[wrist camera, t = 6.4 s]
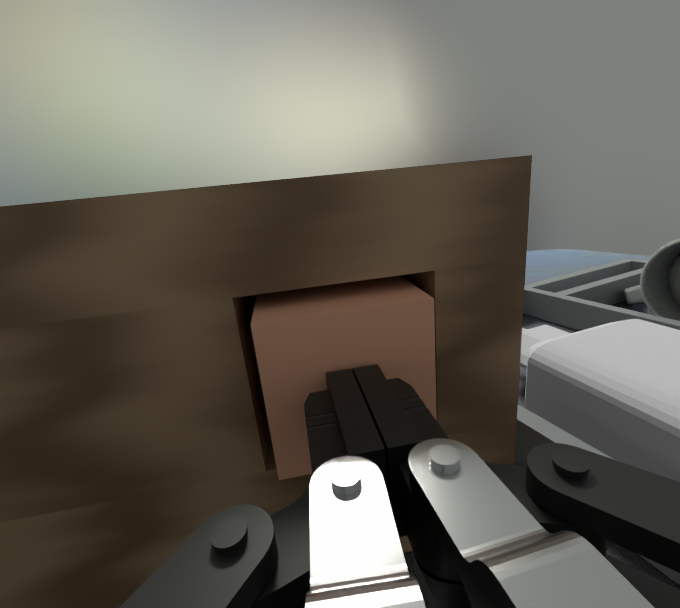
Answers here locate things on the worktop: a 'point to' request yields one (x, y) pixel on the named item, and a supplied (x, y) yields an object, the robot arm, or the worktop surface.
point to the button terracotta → (337, 350)
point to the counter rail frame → (580, 313)
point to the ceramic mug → (660, 283)
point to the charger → (610, 389)
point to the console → (219, 351)
